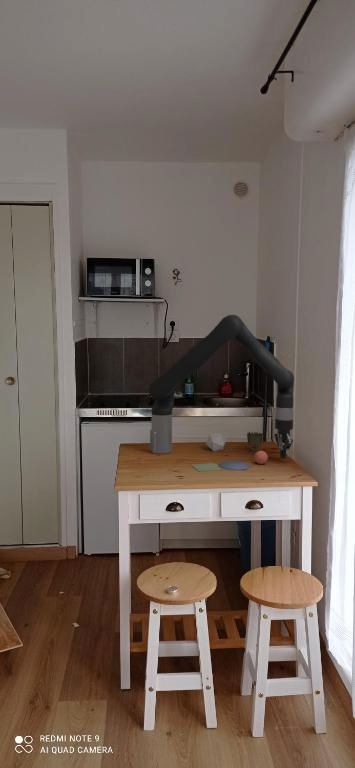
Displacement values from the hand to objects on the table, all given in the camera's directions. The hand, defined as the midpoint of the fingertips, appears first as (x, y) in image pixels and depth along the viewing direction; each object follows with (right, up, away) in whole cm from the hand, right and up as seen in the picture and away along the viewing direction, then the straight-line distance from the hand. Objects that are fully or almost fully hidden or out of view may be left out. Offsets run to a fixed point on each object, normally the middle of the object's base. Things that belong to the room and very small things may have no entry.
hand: (282, 458), depth 245 cm
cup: (-9, +1, +20) cm, 22 cm away
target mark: (-21, -2, -6) cm, 22 cm away
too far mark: (-33, -3, -9) cm, 34 cm away
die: (-27, +1, +20) cm, 34 cm away
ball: (-10, +1, -3) cm, 10 cm away
